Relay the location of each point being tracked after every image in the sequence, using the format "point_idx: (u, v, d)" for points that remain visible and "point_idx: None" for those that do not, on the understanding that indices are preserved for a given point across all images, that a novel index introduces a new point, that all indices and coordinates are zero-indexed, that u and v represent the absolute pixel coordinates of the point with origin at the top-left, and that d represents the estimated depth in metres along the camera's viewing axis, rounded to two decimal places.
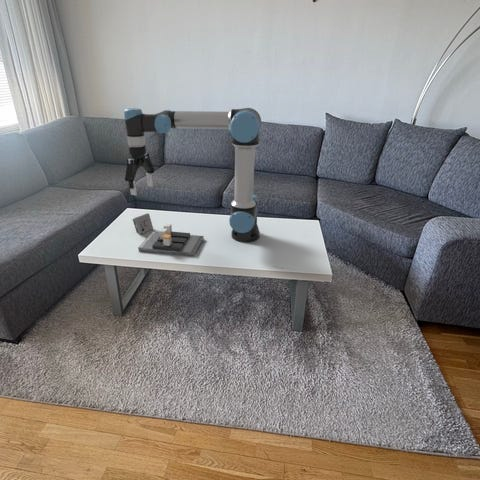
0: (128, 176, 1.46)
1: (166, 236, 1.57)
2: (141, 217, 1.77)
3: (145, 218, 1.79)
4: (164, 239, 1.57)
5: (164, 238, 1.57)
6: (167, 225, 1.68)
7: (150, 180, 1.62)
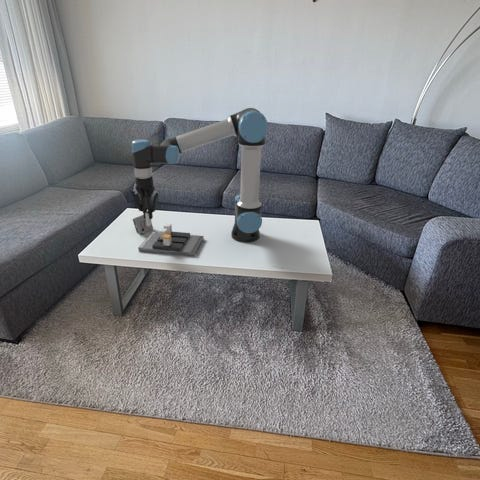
0: None
1: (166, 236, 1.57)
2: (141, 217, 1.77)
3: None
4: (164, 239, 1.57)
5: (164, 238, 1.57)
6: (167, 225, 1.68)
7: None
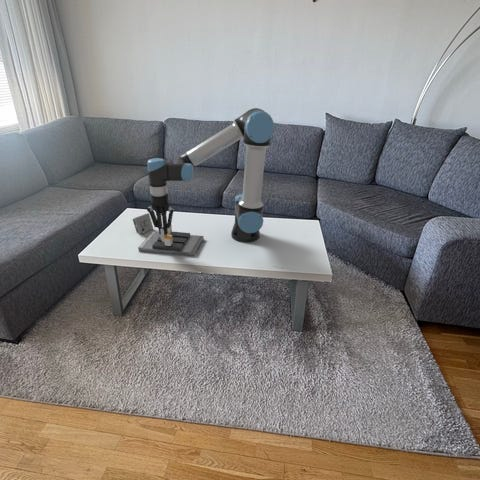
0: None
1: (167, 236, 1.57)
2: (141, 217, 1.77)
3: (145, 218, 1.79)
4: (165, 239, 1.57)
5: (165, 238, 1.57)
6: None
7: None
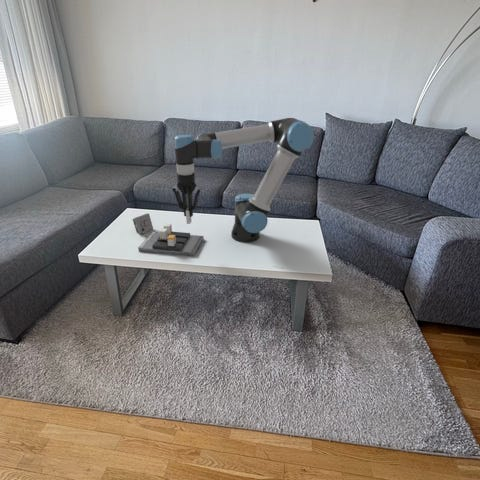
0: None
1: (170, 236, 1.57)
2: (141, 217, 1.77)
3: (145, 218, 1.79)
4: (168, 239, 1.57)
5: (168, 238, 1.57)
6: (167, 225, 1.68)
7: None
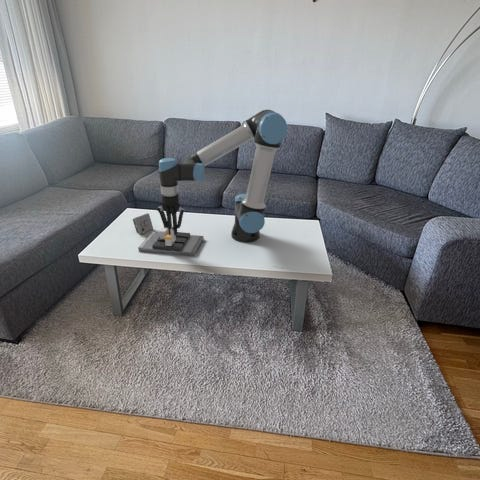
0: None
1: (168, 236, 1.57)
2: (141, 217, 1.77)
3: (145, 218, 1.79)
4: (166, 239, 1.57)
5: (166, 238, 1.57)
6: None
7: None
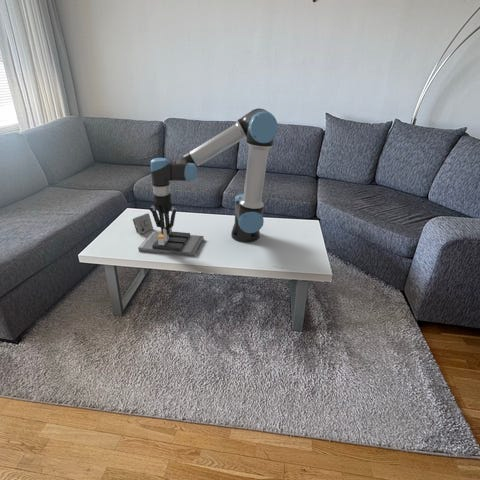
0: None
1: (161, 236, 1.58)
2: (141, 217, 1.77)
3: (145, 218, 1.79)
4: (159, 239, 1.57)
5: (159, 238, 1.57)
6: None
7: None
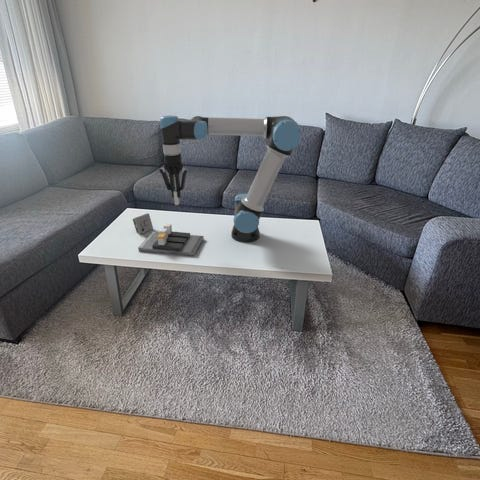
0: None
1: (161, 236, 1.58)
2: (141, 217, 1.77)
3: (145, 218, 1.79)
4: (159, 239, 1.57)
5: (159, 238, 1.57)
6: (167, 225, 1.68)
7: None
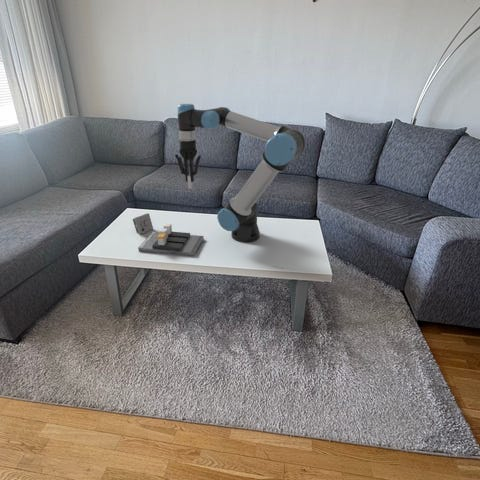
0: None
1: (161, 236, 1.58)
2: (141, 217, 1.77)
3: (145, 218, 1.79)
4: (159, 239, 1.57)
5: (159, 238, 1.57)
6: (167, 225, 1.68)
7: None
